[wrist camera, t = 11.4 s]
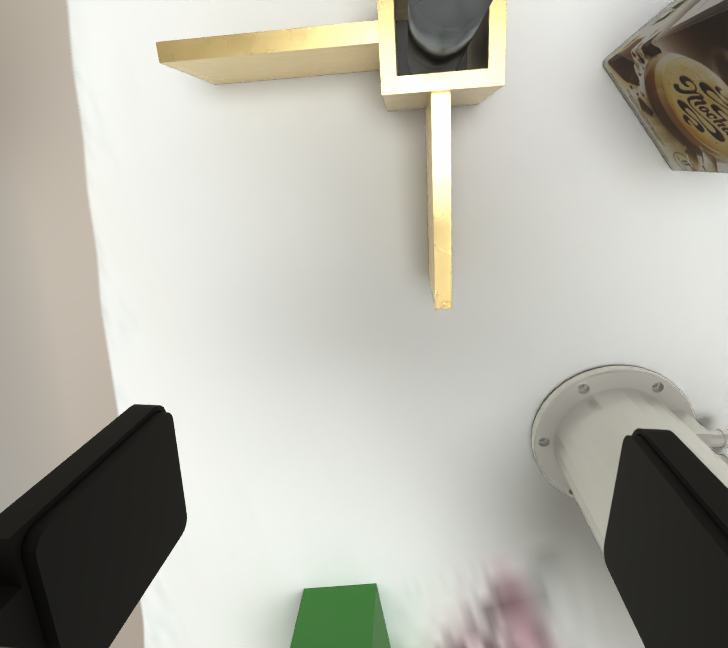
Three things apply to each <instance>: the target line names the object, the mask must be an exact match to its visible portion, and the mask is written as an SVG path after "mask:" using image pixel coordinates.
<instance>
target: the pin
mask: <svg viewBox="0 0 728 648" xmlns="http://www.w3.org/2000/svg"><path fill="white" fill-rule="evenodd" d="M492 1H493V0H408V65H409V69H410V71H411V73H412V75H419V74H430V73H442V72H454V71H455V70H456V68H457V66H458V64H459V62H460V60H461V59H462V57H463V55H464V53H465V51H466V49H467V47H468V46H469V44H470V42H471V40H472V38H473V36H474V34H475V33H476V31H477V29H478V27H479V25H480V23H481V21H482V20H483V18H484V16H485V14H486V12H487V10H488V9H489V7H490V5H491V3H492Z"/></svg>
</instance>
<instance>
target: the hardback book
mask: <svg viewBox="0 0 728 648" xmlns="http://www.w3.org/2000/svg"><path fill="white" fill-rule="evenodd" d="M290 648H391V647H390V642H389V638H388V633H387V629H386V624H385V620H384V616H383V611H382V607H381V602H380V598H379V593H378V589H377V585H376V584H362V585H348V586H335V587H321V588H307V589H304V592H303V596H302V600H301V604H300V608H299V613H298V617H297V621H296V625H295V630H294V634H293V638H292V642H291V647H290Z"/></svg>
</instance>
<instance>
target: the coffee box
mask: <svg viewBox="0 0 728 648" xmlns="http://www.w3.org/2000/svg"><path fill="white" fill-rule="evenodd" d="M604 67H605V68H606V70H607V72H608V73H609V75H610V76H611V78H612V79H613V81H614V82H615V84H616V85H617V87H618V88H619V90H620V91H621V93H622V94H623V96H624V97H625V99H626V100H627V102H628V103H629V105H630V106H631V108H632V109H633V111H634V112H635V114H636V115H637V117H638V119H639V120H640V122H641V123H642V125H643V126H644V128H645V129H646V131H647V132H648V134H649V135H650V137H651V138H652V140H653V141H654V143H655V144H656V146H657V147H658V149H659V151H660V152H661V154H662V155H663V157H664V158H665V160H666V161H667V163H668V164H669V166H670V167H671V169H672V170H680V171H700V172H717V173H728V0H674V1H673V2H672V3H671V4H670V5H668V6H667V7H666V8H665V9H664V10H662V11H661V12H660V13H659V14H658V15H656V16H655V17H654V18H653V19H652V20H650V21H649V22H648V23H647V24H646V25H644V26H643V27H642V28H641V29H640V30H638V31H637V32H636V33H635V34H634V35H632V36H631V37H630V38H629V39H628V40H627V41H625V42H624V43H623V44H622V45H621V46H620V47H618V48H617V49H616V50H615V51H614V52H613V53H612V54H611V55H609V56H608V57H607V58H606V59H605V61H604Z"/></svg>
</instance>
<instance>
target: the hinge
mask: <svg viewBox="0 0 728 648" xmlns="http://www.w3.org/2000/svg"><path fill="white" fill-rule="evenodd" d="M506 5H507V0H493V1H492V3H491V5H490V7H489V9H488V10H487V12H486V14H485V16H484V18H483V20H482V21H481V23H480V25H479V27H478V29H477V31H476V33H475V34H474V36H473V38H472V40H471V42H470V44H469V46H468V47H467V70H465V71H454V72H442V73H430V74H419V75H407V76H398V63H397V37H396V21H399V20H408V0H377V12H378V20H376V21H366V22H355V23H345V24H335V25H325V26H315V27H305V28H295V29H284V30H274V31H264V32H254V33H244V34H234V35H223V36H213V37H203V38H193V39H183V40H173V41H163V42H156V46H157V51H158V57H159V62H160V63H161V64H163V65H166V66H169V67H171V68H174V69H176V70H179V71H181V72H184V73H187V74H189V75H192V76H194V77H197V78H199V79H202V80H205V81H207V82H210V83H212V84H215V85H216V84H227V83H238V82H250V81H261V80H272V79H284V78H295V77H306V76H318V75H329V74H341V73H352V72H363V71H375V70H380V74H381V94H382V98H383V100H384V103H385V105H386V108H387V111H398V110H410V109H423V108H425V109H426V154H427V200H428V245H429V280H430V285H431V290H432V295H433V300H434V305H435V309H451V308H452V261H451V109H450V106H461V105H473V104H479V103H481V102H482V101H483V100H485V99H486V98H487V97H489V96H490V95H491V94H493V93H494V92H495V91H497V90H498V89H499V88H501V87H502V86H503V85H504V81H505V43H506Z"/></svg>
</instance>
